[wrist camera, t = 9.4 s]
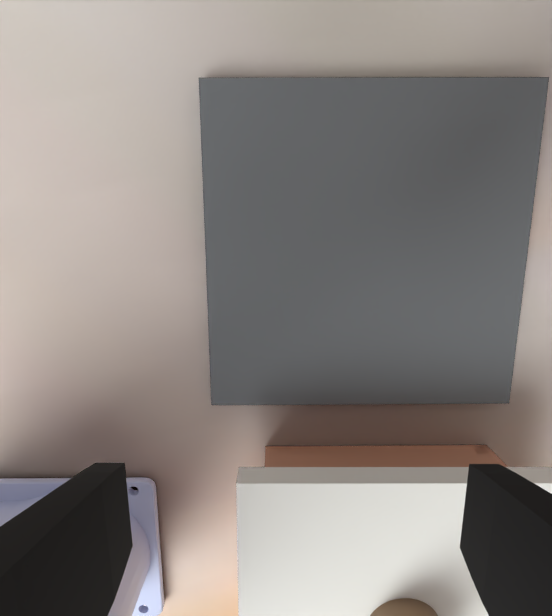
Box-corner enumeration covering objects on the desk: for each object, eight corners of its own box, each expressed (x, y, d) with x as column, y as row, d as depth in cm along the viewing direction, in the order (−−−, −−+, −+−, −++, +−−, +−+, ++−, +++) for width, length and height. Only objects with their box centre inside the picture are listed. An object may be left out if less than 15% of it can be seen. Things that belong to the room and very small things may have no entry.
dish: (267, 627, 21) (266, 716, 17) (265, 446, 19) (263, 501, 15) (465, 625, 21) (508, 713, 18) (486, 444, 19) (540, 499, 15)
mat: (213, 399, 19) (211, 405, 18) (201, 83, 16) (198, 77, 15) (501, 398, 19) (509, 403, 18) (539, 82, 16) (549, 77, 16)
